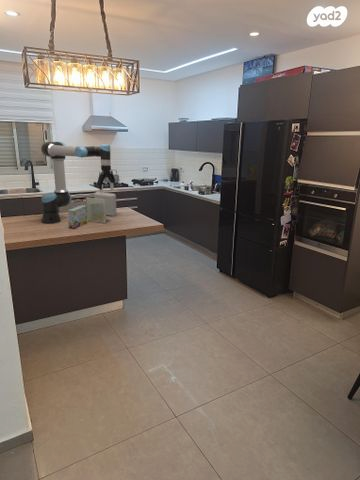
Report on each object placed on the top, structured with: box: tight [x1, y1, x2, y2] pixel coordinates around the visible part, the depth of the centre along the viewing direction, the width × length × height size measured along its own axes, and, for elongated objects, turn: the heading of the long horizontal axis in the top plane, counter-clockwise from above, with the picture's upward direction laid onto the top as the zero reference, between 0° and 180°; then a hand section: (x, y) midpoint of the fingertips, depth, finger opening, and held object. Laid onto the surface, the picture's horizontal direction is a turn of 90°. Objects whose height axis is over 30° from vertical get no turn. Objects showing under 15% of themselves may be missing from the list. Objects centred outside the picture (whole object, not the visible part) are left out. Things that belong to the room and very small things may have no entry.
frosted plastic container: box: [85, 197, 111, 224], centre depth 281 cm, size 18×9×20 cm, turn 66°
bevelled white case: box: [93, 191, 117, 217], centre depth 303 cm, size 21×8×20 cm, turn 65°
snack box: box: [67, 204, 88, 230], centre depth 266 cm, size 21×6×15 cm, turn 168°
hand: (106, 192), depth 262 cm, fingers open, 13 cm apart
